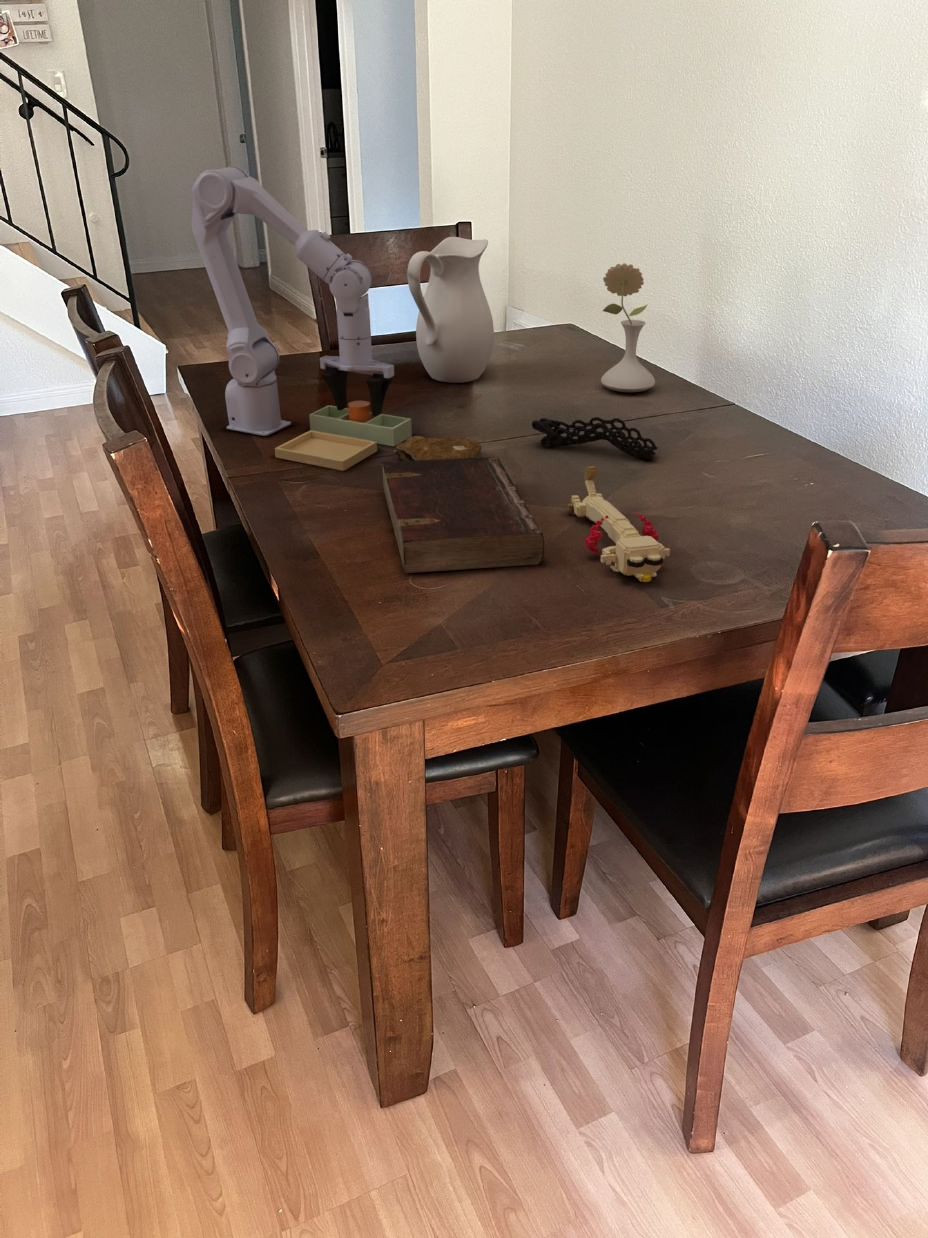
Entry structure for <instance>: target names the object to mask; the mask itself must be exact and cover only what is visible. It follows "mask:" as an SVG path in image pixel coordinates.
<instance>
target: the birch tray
mask: <svg viewBox="0 0 928 1238" xmlns="http://www.w3.org/2000/svg"><path fill="white" fill-rule="evenodd" d="M377 452H378V444H377V442H374V441H368V440H363V439H357V438H352V437H346V436H340V435H335V434H329V433H324V432H318V431H312V430H308V431H306V432H304V433H302V434H300V435H298V436H297V437H294V438H292V439H291V440H288V441H287V442H284V443H282V444H280V445H278V446H276V447H275V448H274V455H275V456H274V457H275V458H277V459H282V460H287V461H291V462H297V463H302V464H307V465H311V466H312V465H313V466H317V467H322V468H328V469H333V470H337V471H343V472H344V471H346V470H348V469H350V468H351V467H353V466H355V465H356V464H358V463H359V462H361V461H363V460H365V459H366V458H369V457H370V456H371V455H373V454H375V453H377Z"/></svg>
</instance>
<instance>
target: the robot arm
mask: <svg viewBox="0 0 928 1238" xmlns="http://www.w3.org/2000/svg"><path fill="white" fill-rule="evenodd" d="M190 193H191V196H192V199H193V203H192V215H191V230H192V234H193V236H194V240H195V243H196V246H197V247H198V250H199V253H200V256H201V259H202V262H203V264H204V267H205V270H206V272H207V275H208V279H209V281H210V284H211V286H212V289H213V292H214V295H215V297H216V301H217V303H218V306H219V309H220V312H221V314H222V317H223V321H224V323H225V325H226V327H227V331H228V336H227V340H226V345H225V346H226V351H227V354H228V370H229V373H230V375H231V377H233V378H232V379H230V381H229V382H228V383H227V384H226V387H225V390H224V391H225V392H224V398H225V405H226V413H227V420H228V425H227V426H226V430H230V431H236V432H241V433H246V434H251V435H257V436H263V437H268V436H270V435H273V434H274V433H276V432H279V431H281V430H283V429H285V428H286V427H289V426H291V425H292V421H289V420H283V419H282V417H281V416H282V415H281V409H280V399H279V390H278V382H277V381H278V380H277V375H276V369H277V367H278V366H279V363H280V353H279V350H278V348H277V346H276V345H275V344H274V343H273V342H272V341H271V339H270V338H269V335H268V333H267V330H266V329H265V328H264V327H263V326H261V325H260V324H259V323H258V319H257V318H256V314H255V312H254V309H253V306H252V302H251V300H250V297H249V294H248V291H247V288H246V285H245V283H244V280H243V277H242V273H241V271H240V267H239V265H238V261H237V259H236V256H235V252H234V250H233V248H232V244H231V241H230V239H229V236H228V233H227V232H228V229H229V227H230V225H231V224H232V222H233V219H234V218H235V215H236V214H240V215H249V216H250V215H251V216H255V217H256V218H258V219H259V220H261V221H262V222H263V223H264V224H265V225H267V226H268V227H269V228H271V230H273V231H274V232H275V233H277V234H278V235H280V236H281V237H282V238H283V239H285V240H286V241H288V242H289V243H290V244H291V245H292V246H293V247H294V250H295V254H296V258H297V259H298V260H299V261H300V262H301V263H303V264H304V265H305V266H306V267H307V268H308V269H309V270H310V271H312V272H313V273H314V274H315V275H316V276H318V277H319V278H320V279H321V280H322V281H324V282H325V283H326V284H328V286H329V287H328V288H329V291H330V294H331V295H332V296H333V298H335V305H336V306H335V307H336V311H335V312H336V321H337V322H336V324H337V339H338V351H339V356H337V355H335V356H334V355H333V356H332V355H324V356H321V357H319V368H320V369H321V370H324V372H322V373H321V378H322V379H323V380H324V382H325V384H326V385H327V387H328V388H329V391H330V394H331V395H332V397H333V401H334V403H335V406H336V407H337V410H339V411H341V410H343V409H345V408H348V397H347V396H348V395H347V381H348V373H349V372H350V373H357V374H364V375H370V377H369V378H366V379H365V383H366V384H367V389H368V392H369V397H370V411H371V412H372V415H373V416H378V415H380V414H383V413H382V412H383V408H384V407H383V406H384V402H385V401H384V400H385V398H386V394H387V391H388V389H389V386H390V384H391V383H392V380H393V377H394V376H395V365H394V364H391V363H386V362H382V361H379V360H377V359H376V360H375V359H373V354H372V353H373V350H372V349H373V348H372V331H371V330H372V329H371V314H370V313H371V311H370V306H369V305H370V304H369V303H370V302H369V301H370V300H369V293H368V292H369V290H370V288H371V286H372V280H373V279H372V278H373V277H372V274H371V271H370V270H369V268H368V267H367V266H366V265H365V263H364V261H361V260H358V259H353V256H352V255H351V254H350V253H345V252H344V251H342V250H341V249H340V247H338V246H337V245H336V244H334V243H333V242H332V241H331V240H330V239H331V235H330V234H329V233H327V232H326V231H324V232H321V231H319V230H318V229H311V230H309V229H306V227H304V226H303V225H302V224H301V223H300V222H299V221H298V220H297V219H296V218H295V217H294V216H293V215H292V214H291V213H289V211H288V210H287V209H285V207H283V206H282V205H281V203H279V202H278V201H277V200H276V199H275V198H274V197H273V195H271V194H270V193H269V192H268V191H267V190H266V189H265V188H264V187H263V186H262V184H261V183H260V182H259V181H258V180H257V179H256V178H254V177H252V176H249V174H248V173H247V172H246V171H245V170H244V169H243V168H241V167H240V166H236V165H229V166H226V167H223V168H217V169H206V170H205V171H203V172H201V173H200V174H199V175H198V177H197V179H196V181H195V182H194V184H193V186H192V188H191V189H190Z"/></svg>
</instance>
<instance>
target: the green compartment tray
mask: <svg viewBox="0 0 928 1238" xmlns="http://www.w3.org/2000/svg"><path fill="white" fill-rule="evenodd" d="M370 413H371V420H369V421H367V422H365V423H361V422H355V421H349V412H348V407H346V408H345V409H343V410H341V411H339V410H337V407H336V405H330V404H329V405H326V406H324V407H322V408H320V409H318V410H316V411H314V412H311V413H310V414H308V418H309V429H310V430H312V431H318V432H324V433H329V434H335V435H340V436H346V437H352V438H357V439H363V440H368V441H374V442H377V445H384V446H389V447H396V446H397V445H398V444H400V443H403V442H405V441H406V440H407V438H408V437H411V436H413V433H412V432H413V429H412V418H410V417H403V416H398V415H391V414H386V413H385V414H384V413H382V414H380V415H378V416H373V415H372V411H370ZM310 430H309V431H310Z"/></svg>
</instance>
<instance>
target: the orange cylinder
mask: <svg viewBox="0 0 928 1238" xmlns="http://www.w3.org/2000/svg"><path fill="white" fill-rule="evenodd" d="M347 408H348V412H349V421H355V422H361V423H365V422H367V421H369V420H371V413H370V412H371V402H370V401H366V400H352V401H350V402H349V403H348V402H347Z"/></svg>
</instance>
